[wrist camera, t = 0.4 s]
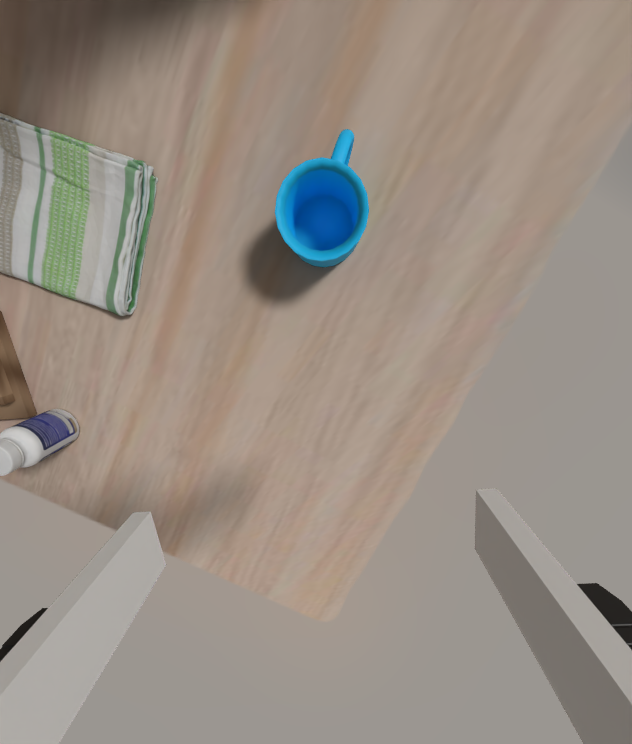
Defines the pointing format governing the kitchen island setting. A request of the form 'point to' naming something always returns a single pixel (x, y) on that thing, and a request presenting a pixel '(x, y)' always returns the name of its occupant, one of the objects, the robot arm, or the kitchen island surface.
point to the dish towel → (73, 216)
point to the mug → (323, 207)
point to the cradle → (12, 381)
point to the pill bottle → (36, 439)
